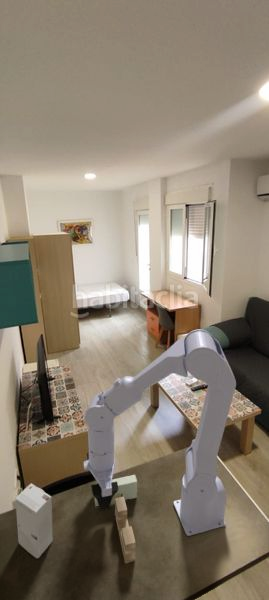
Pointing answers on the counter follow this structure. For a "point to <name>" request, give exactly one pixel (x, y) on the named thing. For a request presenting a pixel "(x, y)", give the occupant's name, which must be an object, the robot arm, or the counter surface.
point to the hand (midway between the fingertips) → (101, 492)
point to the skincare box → (34, 520)
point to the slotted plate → (125, 487)
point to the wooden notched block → (125, 530)
